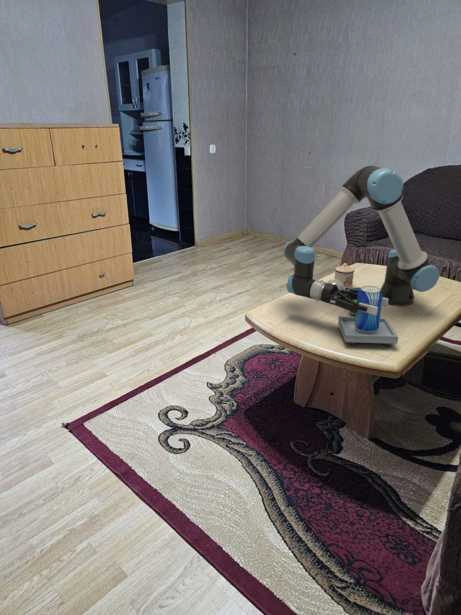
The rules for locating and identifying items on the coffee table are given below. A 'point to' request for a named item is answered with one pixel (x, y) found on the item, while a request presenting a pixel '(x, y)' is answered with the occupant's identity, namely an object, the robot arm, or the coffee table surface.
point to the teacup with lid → (344, 275)
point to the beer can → (366, 320)
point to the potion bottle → (337, 283)
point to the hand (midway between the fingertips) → (382, 306)
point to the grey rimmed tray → (380, 336)
